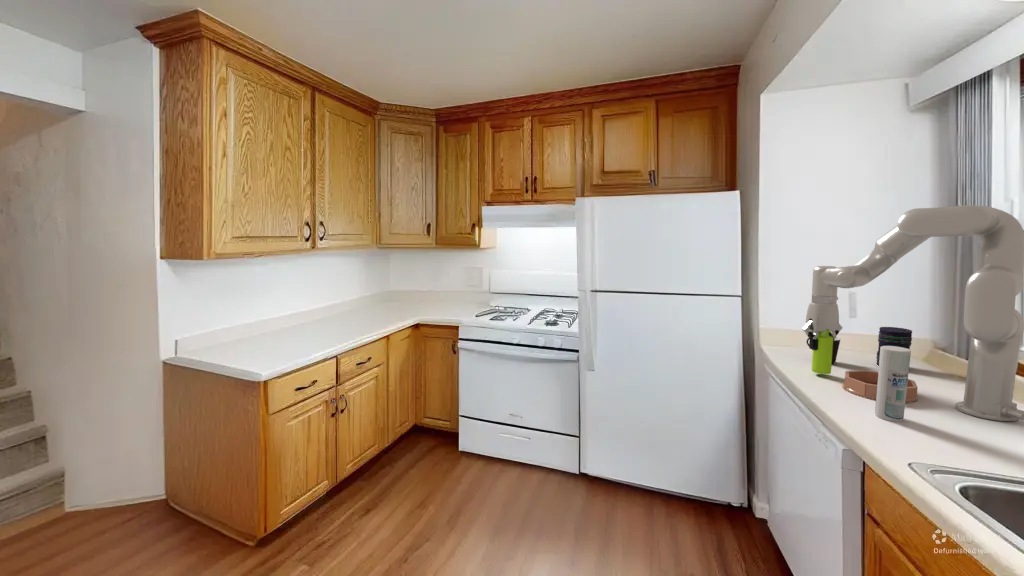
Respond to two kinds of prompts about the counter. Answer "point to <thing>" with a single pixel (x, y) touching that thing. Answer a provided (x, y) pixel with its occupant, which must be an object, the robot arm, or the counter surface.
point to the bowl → (872, 385)
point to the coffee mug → (834, 351)
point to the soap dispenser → (823, 353)
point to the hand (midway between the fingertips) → (821, 348)
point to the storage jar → (893, 338)
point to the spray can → (892, 383)
